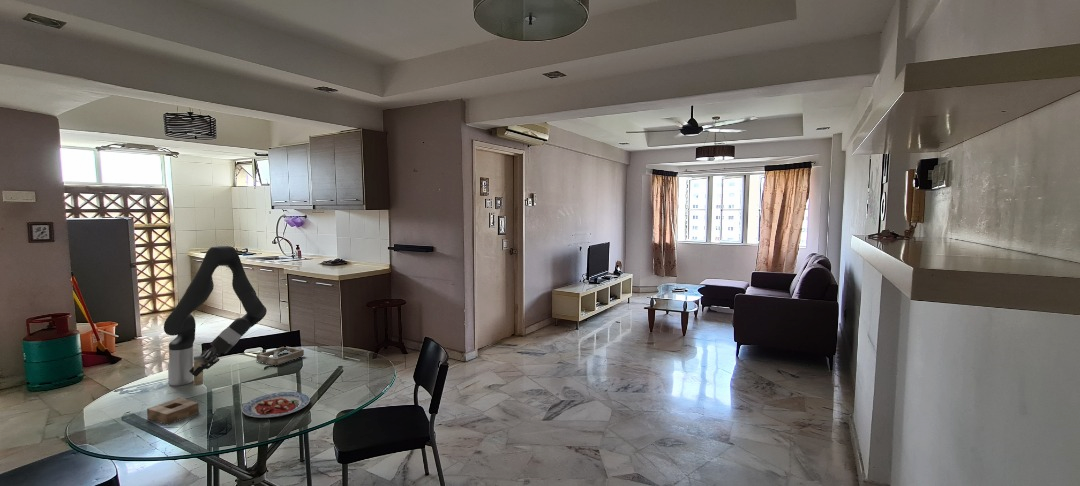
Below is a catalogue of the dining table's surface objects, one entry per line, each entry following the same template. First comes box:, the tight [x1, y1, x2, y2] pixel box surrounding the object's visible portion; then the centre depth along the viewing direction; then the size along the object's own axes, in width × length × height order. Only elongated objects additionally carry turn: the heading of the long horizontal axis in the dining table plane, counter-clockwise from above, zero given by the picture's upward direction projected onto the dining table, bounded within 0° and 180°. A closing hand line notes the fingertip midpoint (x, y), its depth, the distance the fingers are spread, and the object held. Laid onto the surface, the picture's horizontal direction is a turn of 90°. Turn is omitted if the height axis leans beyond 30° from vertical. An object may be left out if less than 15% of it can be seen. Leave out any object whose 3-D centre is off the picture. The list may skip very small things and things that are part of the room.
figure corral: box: [256, 346, 305, 367], centre depth 261 cm, size 14×18×4 cm
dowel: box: [193, 354, 204, 387], centre depth 194 cm, size 3×3×12 cm
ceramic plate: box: [241, 391, 311, 418], centre depth 201 cm, size 26×26×3 cm
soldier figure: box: [273, 350, 280, 358], centre depth 259 cm, size 8×5×12 cm
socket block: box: [146, 397, 200, 425], centre depth 189 cm, size 12×12×4 cm
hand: (192, 374), depth 192 cm, fingers closed on dowel, 3 cm apart
